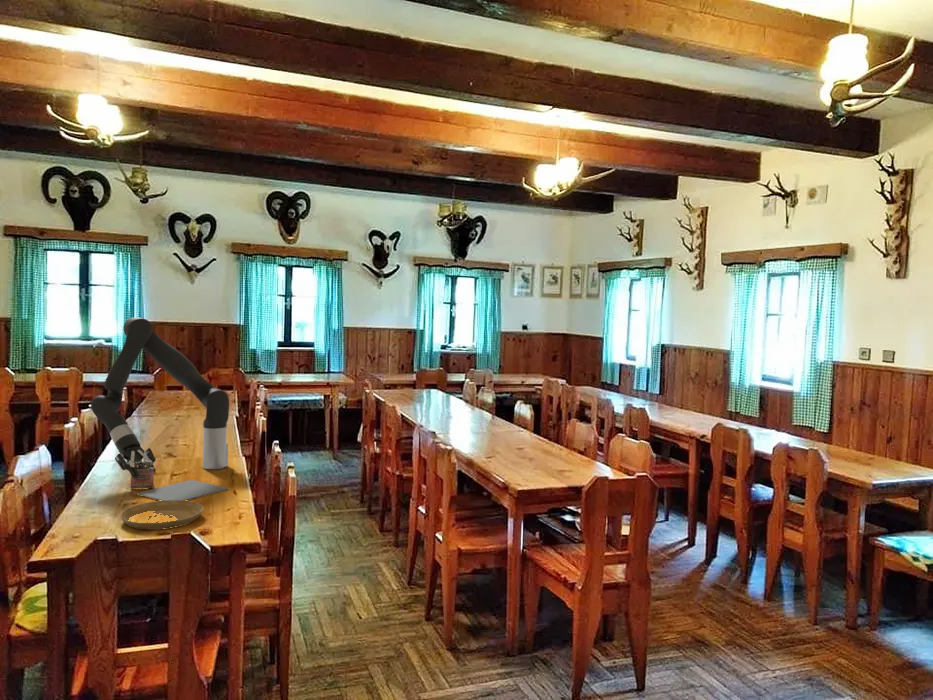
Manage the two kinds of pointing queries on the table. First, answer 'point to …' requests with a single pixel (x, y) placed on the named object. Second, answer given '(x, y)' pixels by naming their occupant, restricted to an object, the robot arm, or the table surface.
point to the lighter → (143, 475)
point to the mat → (183, 491)
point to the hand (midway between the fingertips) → (145, 474)
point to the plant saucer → (164, 513)
